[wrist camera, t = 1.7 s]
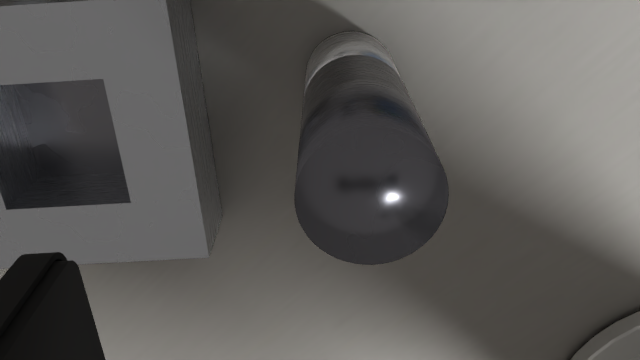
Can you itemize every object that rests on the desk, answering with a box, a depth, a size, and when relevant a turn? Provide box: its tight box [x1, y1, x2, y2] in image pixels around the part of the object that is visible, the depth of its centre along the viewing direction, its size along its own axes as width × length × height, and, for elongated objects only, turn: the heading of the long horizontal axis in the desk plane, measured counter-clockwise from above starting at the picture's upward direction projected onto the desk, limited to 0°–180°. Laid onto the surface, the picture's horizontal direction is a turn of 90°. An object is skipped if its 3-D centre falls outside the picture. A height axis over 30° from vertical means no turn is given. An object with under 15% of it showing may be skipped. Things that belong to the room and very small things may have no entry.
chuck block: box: [0, 0, 222, 269], centre depth 21 cm, size 18×10×4 cm, turn 4°
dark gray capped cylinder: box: [295, 31, 449, 265], centre depth 19 cm, size 4×4×11 cm
